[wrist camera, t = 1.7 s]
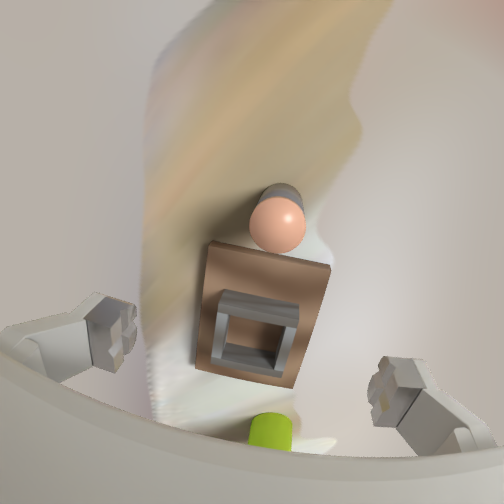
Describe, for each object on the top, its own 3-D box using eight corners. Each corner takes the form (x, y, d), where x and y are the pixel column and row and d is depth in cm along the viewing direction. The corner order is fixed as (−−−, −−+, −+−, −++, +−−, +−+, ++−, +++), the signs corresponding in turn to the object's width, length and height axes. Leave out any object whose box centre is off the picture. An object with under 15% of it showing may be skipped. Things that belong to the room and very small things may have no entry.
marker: (264, 179, 29) (254, 193, 22) (306, 188, 29) (311, 205, 22) (256, 219, 31) (244, 247, 23) (297, 228, 31) (299, 258, 23)
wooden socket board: (212, 240, 32) (200, 256, 28) (329, 264, 31) (334, 284, 27) (198, 361, 38) (188, 384, 34) (292, 380, 37) (291, 406, 33)
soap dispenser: (237, 419, 41) (210, 542, 22) (281, 408, 39) (268, 541, 21) (257, 440, 42) (238, 554, 24) (298, 430, 41) (292, 553, 22)
